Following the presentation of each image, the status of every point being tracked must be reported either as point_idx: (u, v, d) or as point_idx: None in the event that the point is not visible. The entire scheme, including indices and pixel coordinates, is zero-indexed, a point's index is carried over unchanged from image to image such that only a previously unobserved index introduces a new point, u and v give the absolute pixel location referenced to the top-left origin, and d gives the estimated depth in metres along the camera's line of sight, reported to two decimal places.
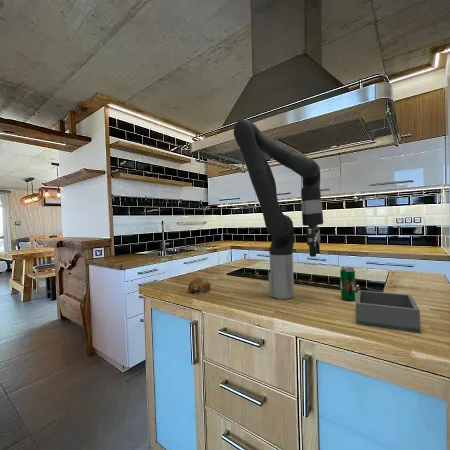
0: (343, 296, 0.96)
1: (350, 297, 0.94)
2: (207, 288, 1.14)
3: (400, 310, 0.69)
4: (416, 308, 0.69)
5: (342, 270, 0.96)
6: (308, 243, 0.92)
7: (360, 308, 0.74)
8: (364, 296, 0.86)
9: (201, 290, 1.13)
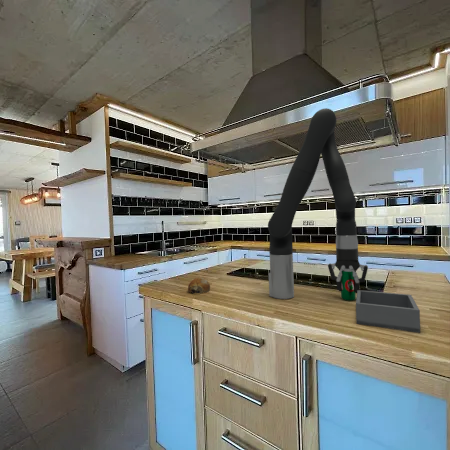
0: (343, 296, 0.96)
1: (350, 297, 0.94)
2: (207, 288, 1.14)
3: (400, 310, 0.69)
4: (416, 308, 0.69)
5: (342, 270, 0.96)
6: None
7: (360, 308, 0.74)
8: (364, 296, 0.86)
9: (201, 290, 1.13)
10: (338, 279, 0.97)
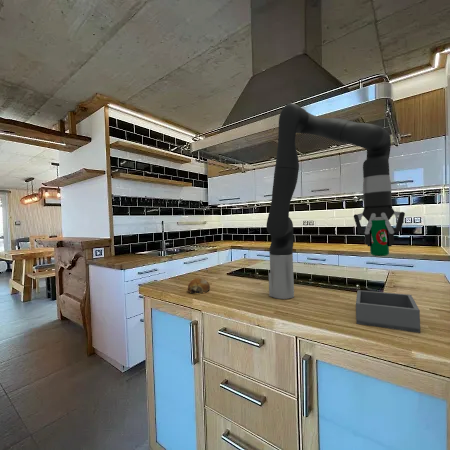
0: (373, 250, 0.79)
1: (383, 251, 0.77)
2: (206, 288, 1.14)
3: (400, 310, 0.69)
4: (416, 308, 0.69)
5: None
6: None
7: (360, 308, 0.74)
8: (364, 296, 0.86)
9: (200, 290, 1.12)
10: (367, 231, 0.80)
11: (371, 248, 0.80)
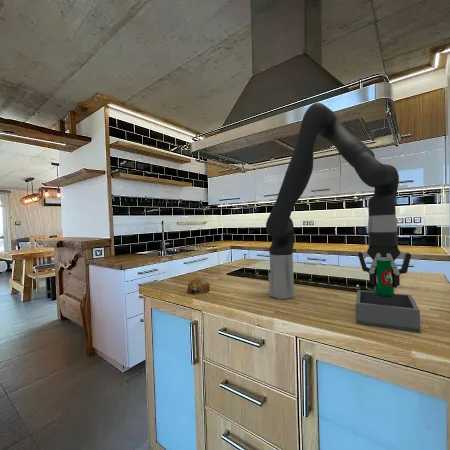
0: (378, 291, 0.77)
1: (388, 293, 0.75)
2: (206, 288, 1.14)
3: (400, 310, 0.69)
4: (416, 308, 0.69)
5: None
6: None
7: (360, 308, 0.74)
8: (364, 296, 0.86)
9: (200, 290, 1.12)
10: (371, 270, 0.78)
11: (376, 288, 0.78)
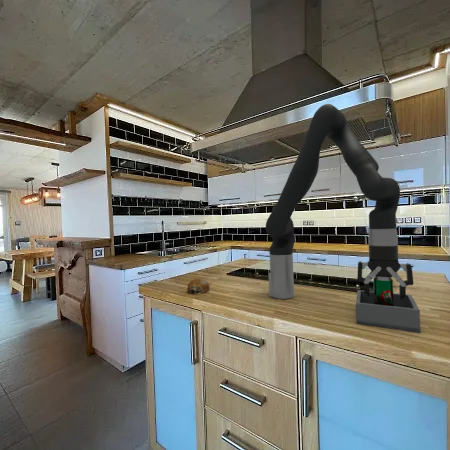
0: None
1: None
2: (206, 288, 1.13)
3: (400, 310, 0.69)
4: (416, 308, 0.69)
5: (376, 279, 0.77)
6: None
7: (360, 308, 0.74)
8: (364, 296, 0.86)
9: (200, 290, 1.12)
10: (366, 281, 0.79)
11: None
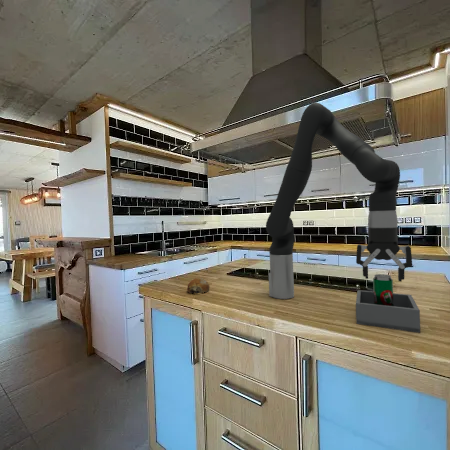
0: None
1: None
2: (206, 289, 1.13)
3: (400, 310, 0.69)
4: (416, 308, 0.69)
5: (376, 278, 0.77)
6: None
7: (360, 308, 0.74)
8: (364, 296, 0.86)
9: (200, 291, 1.12)
10: (365, 263, 0.78)
11: None
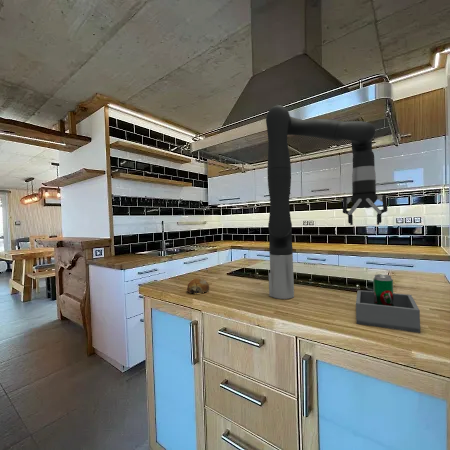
0: None
1: None
2: (206, 289, 1.13)
3: (400, 310, 0.69)
4: (416, 308, 0.69)
5: (376, 279, 0.77)
6: None
7: (360, 308, 0.74)
8: (364, 296, 0.86)
9: (200, 291, 1.12)
10: (350, 212, 0.95)
11: None
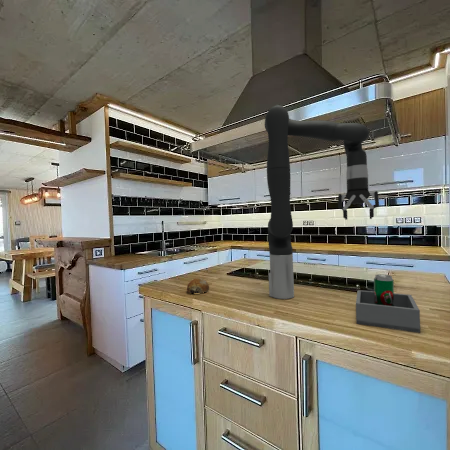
0: None
1: None
2: (206, 289, 1.13)
3: (400, 310, 0.69)
4: (416, 308, 0.69)
5: (377, 279, 0.77)
6: None
7: (360, 308, 0.74)
8: (364, 296, 0.86)
9: (200, 291, 1.12)
10: (344, 207, 1.02)
11: None
